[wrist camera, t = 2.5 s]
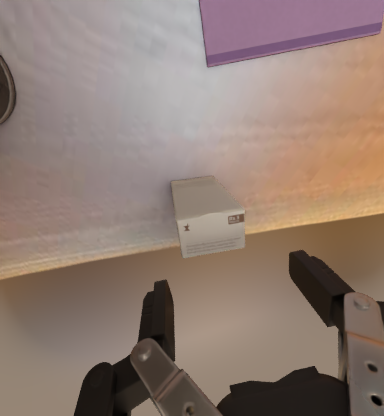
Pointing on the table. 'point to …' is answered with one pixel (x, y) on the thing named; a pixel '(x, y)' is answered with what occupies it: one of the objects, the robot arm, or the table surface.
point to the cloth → (282, 25)
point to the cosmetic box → (207, 217)
